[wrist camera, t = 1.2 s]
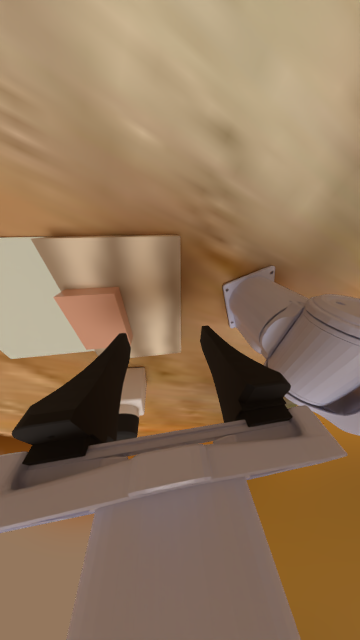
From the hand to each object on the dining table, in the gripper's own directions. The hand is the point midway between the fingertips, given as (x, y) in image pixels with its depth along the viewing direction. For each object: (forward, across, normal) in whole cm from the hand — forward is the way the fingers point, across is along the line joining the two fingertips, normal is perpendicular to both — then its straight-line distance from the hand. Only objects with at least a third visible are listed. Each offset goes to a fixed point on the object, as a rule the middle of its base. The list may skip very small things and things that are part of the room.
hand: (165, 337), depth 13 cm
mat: (+9, +20, +1) cm, 22 cm away
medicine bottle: (+10, +10, +20) cm, 25 cm away
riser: (+9, +5, +1) cm, 11 cm away
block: (+6, +8, +1) cm, 10 cm away
